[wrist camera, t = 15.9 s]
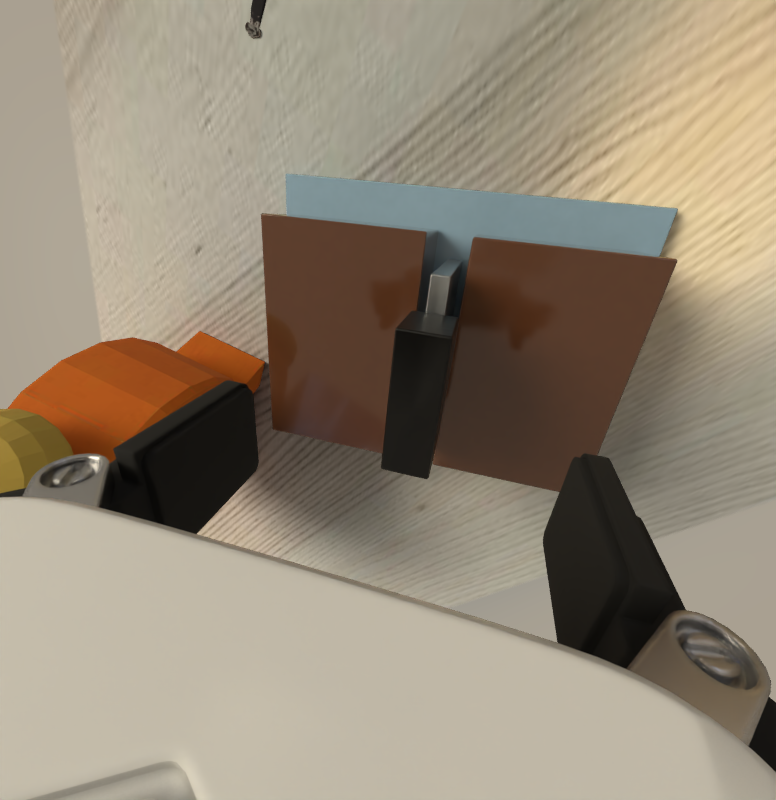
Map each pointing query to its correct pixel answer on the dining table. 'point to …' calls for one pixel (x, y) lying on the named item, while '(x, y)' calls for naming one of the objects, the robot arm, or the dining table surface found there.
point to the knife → (255, 18)
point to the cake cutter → (421, 377)
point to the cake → (461, 315)
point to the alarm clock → (110, 399)
